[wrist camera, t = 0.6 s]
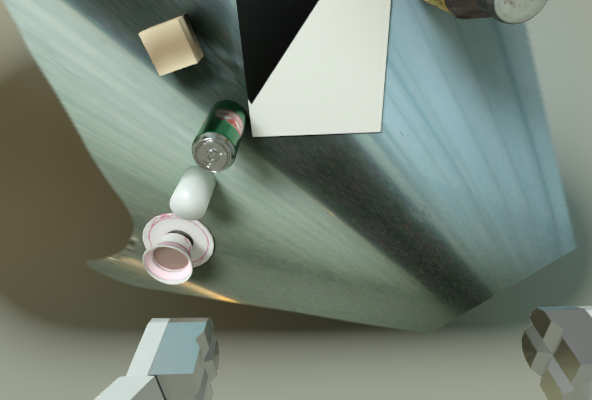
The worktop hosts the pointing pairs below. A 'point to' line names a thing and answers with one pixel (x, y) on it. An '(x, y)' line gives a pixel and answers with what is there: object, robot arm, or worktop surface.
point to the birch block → (172, 45)
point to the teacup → (175, 248)
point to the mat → (314, 65)
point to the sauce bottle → (491, 9)
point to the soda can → (219, 137)
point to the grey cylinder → (193, 194)
